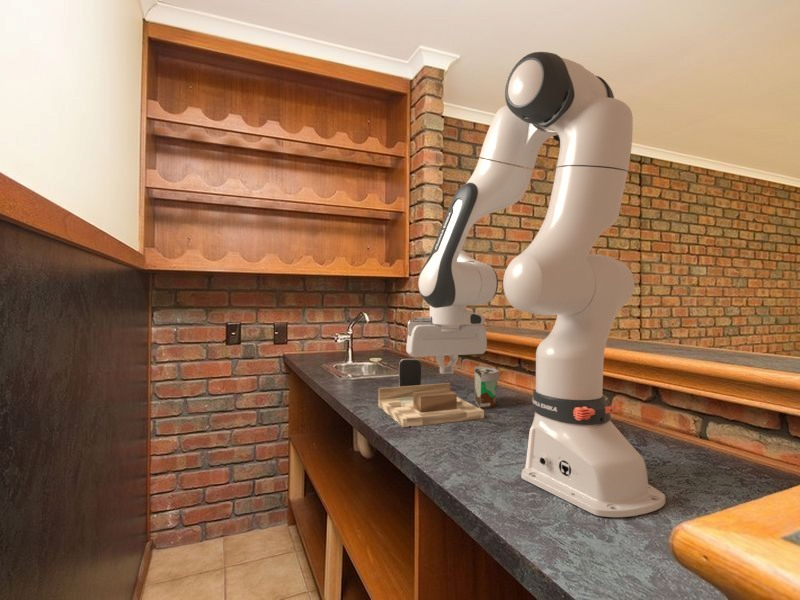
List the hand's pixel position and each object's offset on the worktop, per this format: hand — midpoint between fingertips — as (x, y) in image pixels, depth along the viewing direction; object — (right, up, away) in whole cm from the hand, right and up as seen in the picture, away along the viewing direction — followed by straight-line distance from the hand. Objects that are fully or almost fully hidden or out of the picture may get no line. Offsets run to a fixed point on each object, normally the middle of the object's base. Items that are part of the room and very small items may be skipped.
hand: (446, 373), depth 102 cm
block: (-2, -10, +7) cm, 12 cm away
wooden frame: (-4, -12, +10) cm, 16 cm away
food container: (+14, -12, +18) cm, 26 cm away
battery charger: (-8, -12, +29) cm, 32 cm away
